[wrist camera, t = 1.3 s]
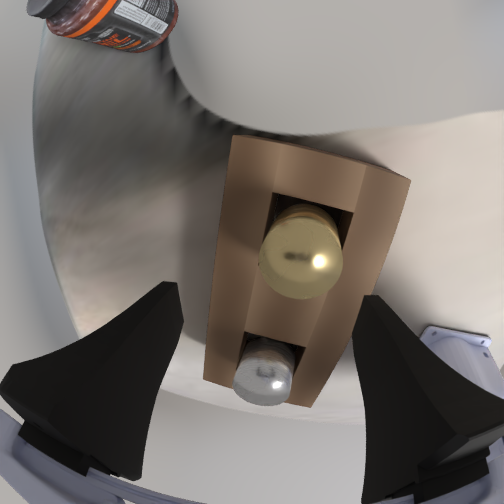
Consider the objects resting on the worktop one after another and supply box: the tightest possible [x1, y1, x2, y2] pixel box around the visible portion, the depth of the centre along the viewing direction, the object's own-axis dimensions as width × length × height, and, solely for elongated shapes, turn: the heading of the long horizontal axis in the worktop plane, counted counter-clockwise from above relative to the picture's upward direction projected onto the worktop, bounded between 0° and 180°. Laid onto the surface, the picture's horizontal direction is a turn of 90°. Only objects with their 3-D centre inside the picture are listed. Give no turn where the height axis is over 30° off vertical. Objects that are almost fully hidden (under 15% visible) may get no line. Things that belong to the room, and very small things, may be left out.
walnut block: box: [203, 135, 411, 408], centre depth 20 cm, size 10×20×4 cm, turn 170°
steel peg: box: [232, 337, 296, 406], centre depth 19 cm, size 4×4×4 cm
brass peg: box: [259, 204, 343, 299], centre depth 14 cm, size 4×4×4 cm
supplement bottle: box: [27, 0, 178, 53], centre depth 10 cm, size 6×6×11 cm
